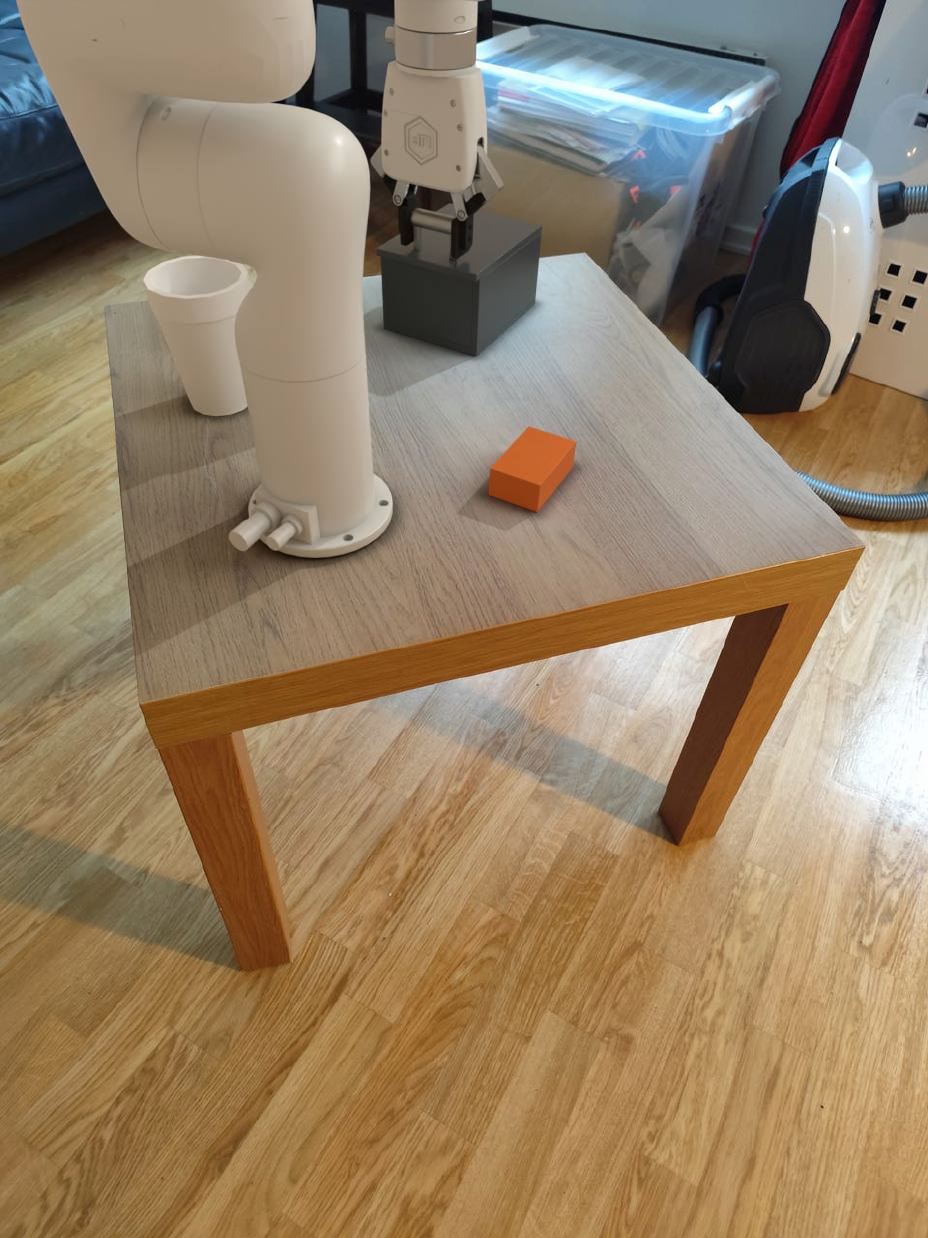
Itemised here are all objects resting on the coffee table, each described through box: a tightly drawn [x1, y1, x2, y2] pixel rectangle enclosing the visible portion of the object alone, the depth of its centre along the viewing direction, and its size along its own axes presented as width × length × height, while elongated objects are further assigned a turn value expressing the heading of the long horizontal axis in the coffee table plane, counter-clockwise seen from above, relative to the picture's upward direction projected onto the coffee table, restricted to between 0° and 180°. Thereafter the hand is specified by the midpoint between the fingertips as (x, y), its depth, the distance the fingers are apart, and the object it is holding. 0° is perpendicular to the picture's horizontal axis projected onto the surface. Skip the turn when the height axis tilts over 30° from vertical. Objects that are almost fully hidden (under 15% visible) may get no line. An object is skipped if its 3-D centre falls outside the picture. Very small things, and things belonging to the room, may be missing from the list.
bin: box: [380, 232, 543, 357], centre depth 97 cm, size 16×13×9 cm
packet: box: [488, 425, 577, 513], centre depth 76 cm, size 8×5×3 cm, turn 151°
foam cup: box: [142, 255, 252, 417], centre depth 81 cm, size 10×9×13 cm
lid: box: [375, 203, 543, 282], centre depth 92 cm, size 16×13×5 cm
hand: (435, 245), depth 89 cm, fingers closed on lid, 5 cm apart
